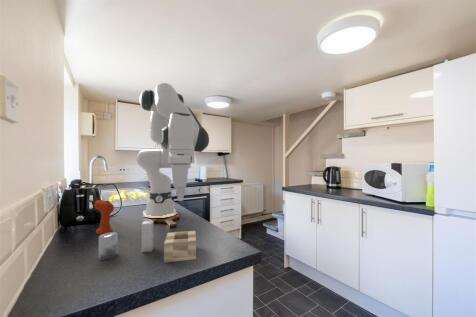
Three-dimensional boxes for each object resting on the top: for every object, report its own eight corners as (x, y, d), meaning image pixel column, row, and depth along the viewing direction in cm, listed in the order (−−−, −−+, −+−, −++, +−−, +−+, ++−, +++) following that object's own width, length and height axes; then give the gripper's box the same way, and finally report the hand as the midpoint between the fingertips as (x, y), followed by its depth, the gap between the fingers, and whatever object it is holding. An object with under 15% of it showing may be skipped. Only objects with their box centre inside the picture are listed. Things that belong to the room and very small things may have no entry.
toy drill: (91, 223, 99) (93, 193, 98) (115, 234, 91) (118, 201, 90) (79, 226, 94) (82, 194, 94) (104, 237, 86) (107, 203, 86)
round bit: (102, 253, 70) (102, 233, 70) (120, 251, 71) (120, 231, 72) (95, 260, 65) (95, 239, 65) (114, 258, 66) (114, 237, 66)
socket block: (167, 249, 73) (167, 232, 74) (195, 246, 76) (195, 230, 76) (164, 262, 64) (164, 243, 64) (196, 259, 66) (196, 240, 66)
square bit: (143, 248, 74) (143, 221, 74) (153, 247, 75) (153, 220, 75) (141, 252, 71) (141, 224, 71) (151, 251, 72) (151, 223, 72)
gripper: (174, 158, 80) (174, 193, 79) (168, 157, 60) (168, 204, 59) (190, 158, 81) (190, 193, 81) (190, 158, 61) (190, 203, 61)
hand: (181, 198), depth 70 cm, fingers open, 8 cm apart
